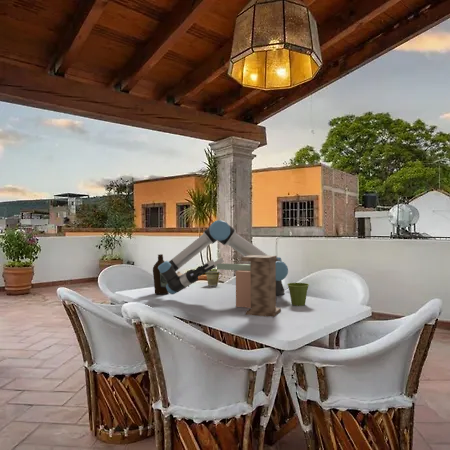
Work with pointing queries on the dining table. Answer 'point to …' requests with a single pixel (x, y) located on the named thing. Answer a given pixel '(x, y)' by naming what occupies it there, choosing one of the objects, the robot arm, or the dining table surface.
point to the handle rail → (234, 266)
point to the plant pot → (298, 293)
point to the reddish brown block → (243, 288)
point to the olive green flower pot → (213, 277)
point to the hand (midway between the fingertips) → (218, 260)
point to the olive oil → (159, 277)
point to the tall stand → (262, 285)
